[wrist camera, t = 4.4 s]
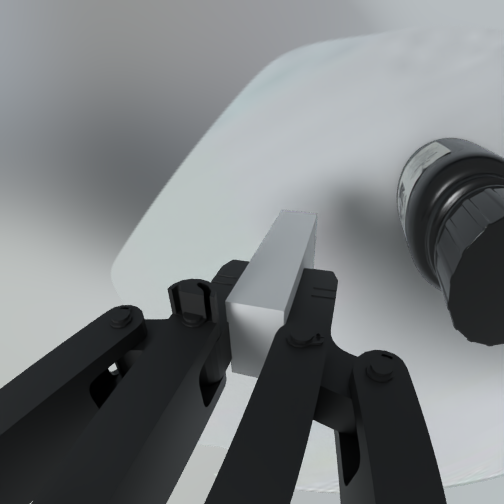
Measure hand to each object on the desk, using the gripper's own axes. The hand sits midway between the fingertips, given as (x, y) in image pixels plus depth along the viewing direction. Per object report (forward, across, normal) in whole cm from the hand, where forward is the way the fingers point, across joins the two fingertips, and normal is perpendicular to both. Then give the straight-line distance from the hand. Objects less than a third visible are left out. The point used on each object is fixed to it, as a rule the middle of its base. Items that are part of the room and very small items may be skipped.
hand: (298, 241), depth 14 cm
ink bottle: (+11, -10, 0) cm, 15 cm away
